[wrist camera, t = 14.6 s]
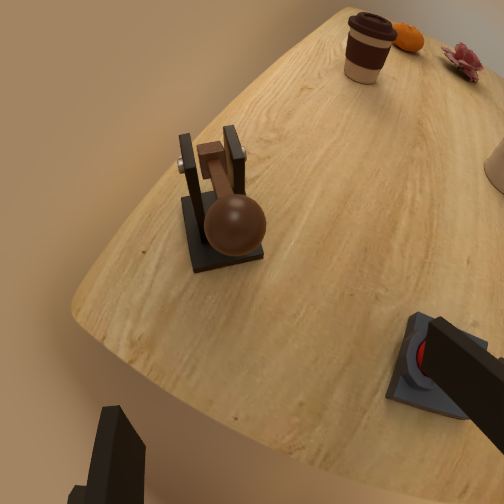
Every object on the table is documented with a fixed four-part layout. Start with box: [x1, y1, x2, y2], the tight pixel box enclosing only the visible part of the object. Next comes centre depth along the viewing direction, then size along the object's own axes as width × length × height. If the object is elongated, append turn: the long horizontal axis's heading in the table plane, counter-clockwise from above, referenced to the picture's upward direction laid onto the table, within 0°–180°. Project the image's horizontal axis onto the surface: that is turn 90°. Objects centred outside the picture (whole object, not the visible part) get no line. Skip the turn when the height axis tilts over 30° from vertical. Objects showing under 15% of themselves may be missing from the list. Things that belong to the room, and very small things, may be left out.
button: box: [417, 341, 427, 375], centre depth 26 cm, size 4×4×2 cm
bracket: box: [177, 125, 264, 273], centre depth 31 cm, size 10×8×14 cm
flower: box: [441, 42, 484, 82], centre depth 61 cm, size 15×15×10 cm
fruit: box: [392, 23, 424, 52], centre depth 63 cm, size 10×10×8 cm
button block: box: [386, 312, 488, 420], centre depth 28 cm, size 13×10×4 cm
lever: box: [197, 141, 266, 256], centre depth 22 cm, size 14×4×4 cm, turn 14°
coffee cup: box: [344, 12, 398, 84], centre depth 49 cm, size 10×10×15 cm
